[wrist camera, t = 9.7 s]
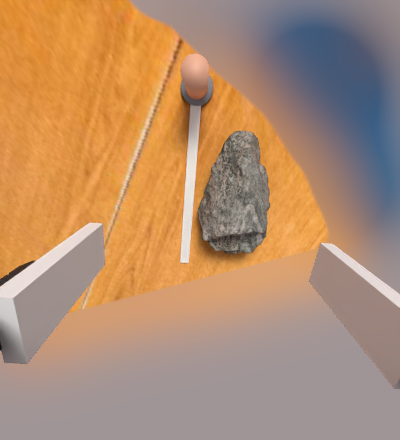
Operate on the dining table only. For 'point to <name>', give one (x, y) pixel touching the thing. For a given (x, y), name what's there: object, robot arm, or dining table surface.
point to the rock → (236, 197)
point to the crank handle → (193, 133)
